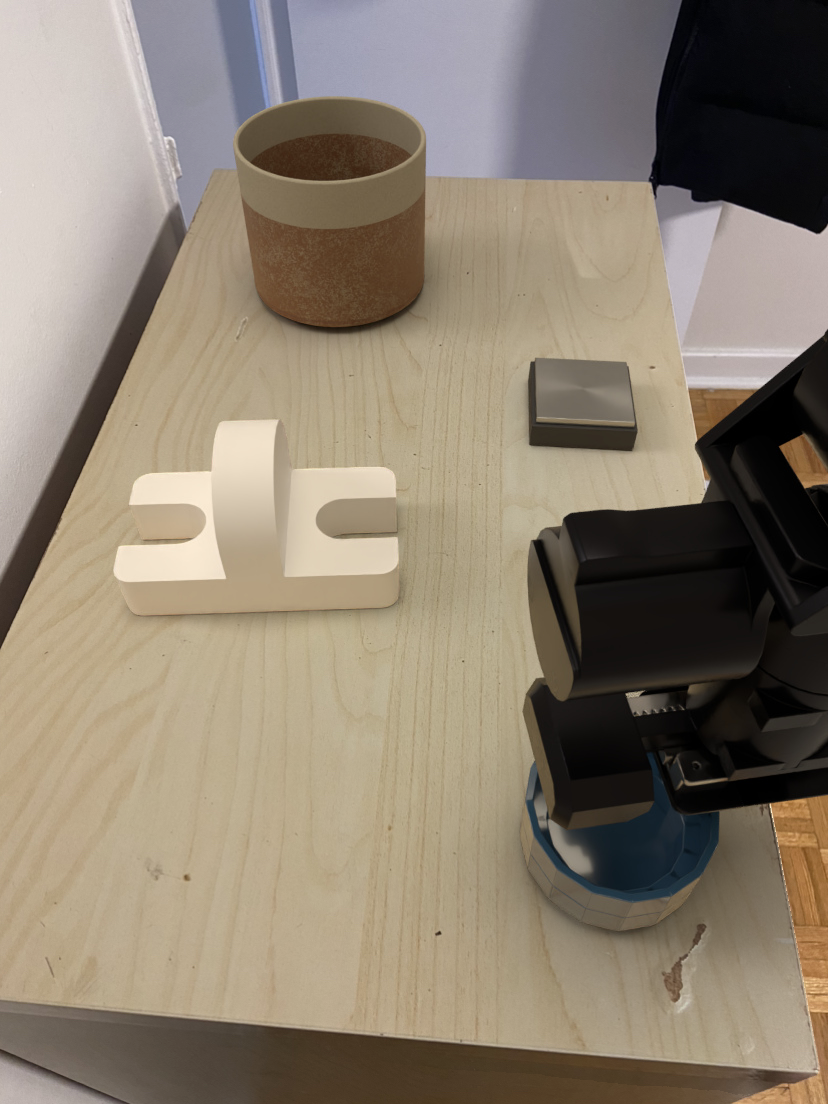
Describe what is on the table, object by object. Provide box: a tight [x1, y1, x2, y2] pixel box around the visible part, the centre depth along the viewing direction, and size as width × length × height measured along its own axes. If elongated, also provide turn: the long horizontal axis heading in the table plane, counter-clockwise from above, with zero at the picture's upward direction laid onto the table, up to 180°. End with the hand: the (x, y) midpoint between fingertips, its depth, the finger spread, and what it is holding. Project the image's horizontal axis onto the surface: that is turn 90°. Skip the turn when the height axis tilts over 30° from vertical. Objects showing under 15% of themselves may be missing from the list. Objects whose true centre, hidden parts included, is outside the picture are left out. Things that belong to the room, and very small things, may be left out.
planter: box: [232, 95, 427, 328], centre depth 74 cm, size 16×16×14 cm
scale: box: [527, 357, 639, 451], centre depth 67 cm, size 8×8×3 cm
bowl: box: [519, 753, 721, 932], centre depth 43 cm, size 9×9×5 cm
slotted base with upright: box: [112, 418, 400, 617], centre depth 54 cm, size 10×18×11 cm, turn 92°
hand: (698, 803), depth 43 cm, fingers closed on bowl
